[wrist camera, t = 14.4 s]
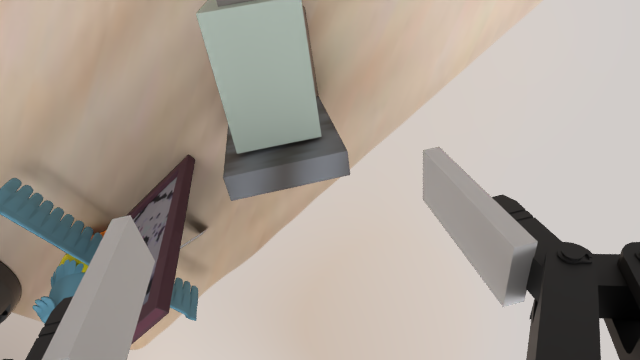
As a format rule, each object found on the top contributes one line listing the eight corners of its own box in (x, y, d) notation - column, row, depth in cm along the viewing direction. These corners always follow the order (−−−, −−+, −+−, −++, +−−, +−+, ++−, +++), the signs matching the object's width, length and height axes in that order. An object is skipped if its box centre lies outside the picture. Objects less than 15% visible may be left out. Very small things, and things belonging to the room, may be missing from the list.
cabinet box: (238, 108, 44) (237, 153, 34) (206, -11, 37) (192, 2, 27) (304, 95, 45) (321, 136, 35) (284, -24, 38) (298, -16, 28)
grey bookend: (235, 124, 48) (231, 200, 33) (205, 22, 41) (183, 60, 26) (317, 107, 49) (350, 174, 34) (301, 4, 42) (332, 31, 27)
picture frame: (188, 154, 49) (146, 302, 28) (243, 195, 54) (242, 348, 33) (112, 228, 53) (25, 408, 32) (170, 261, 58) (127, 436, 37)
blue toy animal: (-11, 200, 48) (-104, 289, 35) (30, 159, 46) (-53, 237, 33) (166, 298, 62) (146, 387, 49) (203, 270, 60) (192, 354, 47)
